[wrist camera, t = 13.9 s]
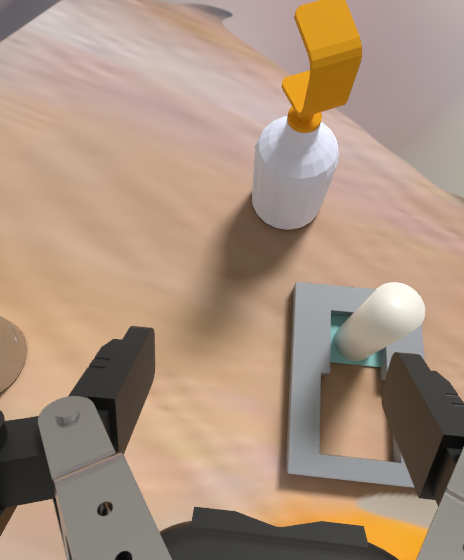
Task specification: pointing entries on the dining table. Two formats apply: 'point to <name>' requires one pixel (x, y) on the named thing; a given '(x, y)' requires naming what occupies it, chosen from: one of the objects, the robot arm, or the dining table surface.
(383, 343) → the cream rounded cylinder
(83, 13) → the dining table surface
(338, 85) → the soap bottle
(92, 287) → the dining table surface
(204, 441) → the dining table surface
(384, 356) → the rectangular recess board
